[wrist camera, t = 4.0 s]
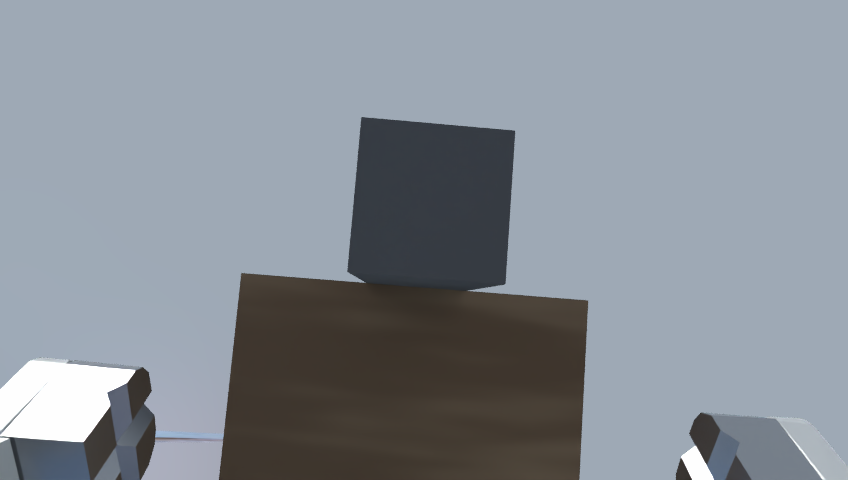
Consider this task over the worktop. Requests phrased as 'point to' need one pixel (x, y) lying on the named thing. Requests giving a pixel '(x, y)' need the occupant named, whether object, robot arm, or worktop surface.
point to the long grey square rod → (431, 205)
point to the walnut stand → (402, 383)
